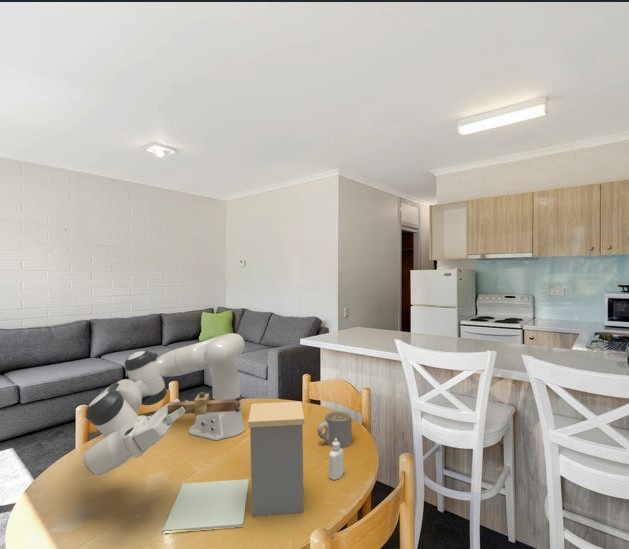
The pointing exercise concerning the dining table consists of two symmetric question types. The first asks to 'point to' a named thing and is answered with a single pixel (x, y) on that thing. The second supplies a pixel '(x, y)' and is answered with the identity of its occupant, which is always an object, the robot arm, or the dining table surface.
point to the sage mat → (209, 505)
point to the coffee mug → (337, 428)
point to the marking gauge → (204, 405)
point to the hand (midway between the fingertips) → (186, 406)
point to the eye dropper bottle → (336, 461)
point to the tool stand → (276, 458)
